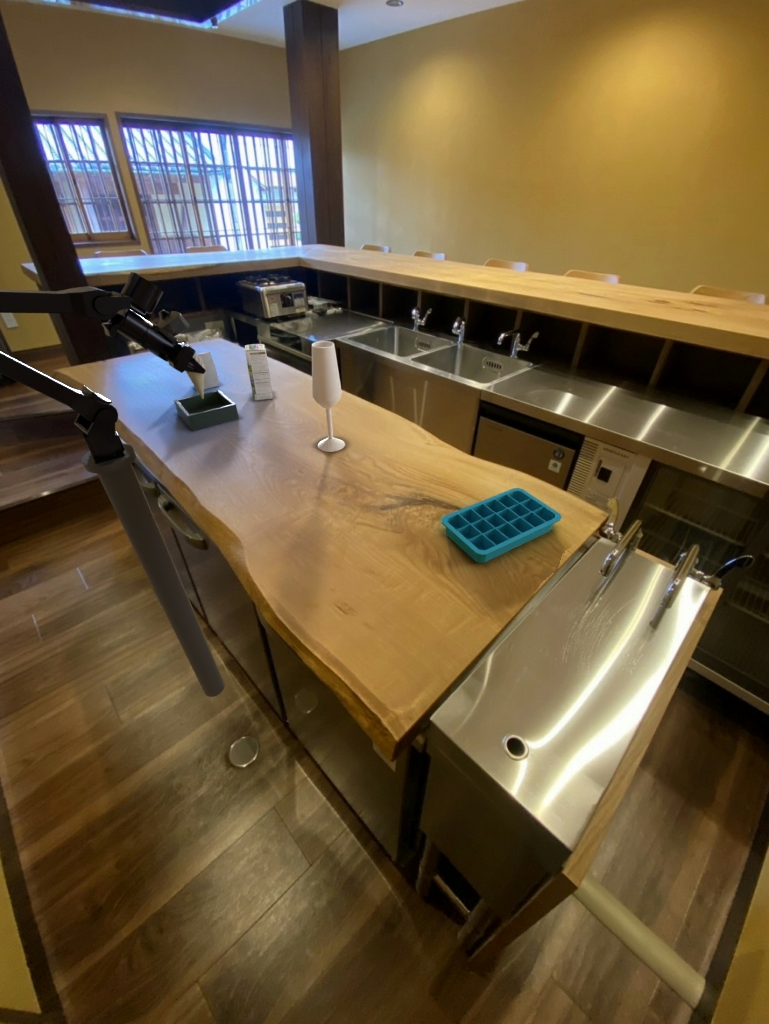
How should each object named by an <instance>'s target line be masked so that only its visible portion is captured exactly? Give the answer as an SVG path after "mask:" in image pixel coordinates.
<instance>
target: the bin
mask: <svg viewBox="0 0 769 1024" xmlns="http://www.w3.org/2000/svg"><path fill="white" fill-rule="evenodd" d="M173 402H174V405H175V409H176V412H177V415H178V416H179V417H180V418H181V419H182V421H183V422H184V423H185V424H186V426H187V427H188V428H189V429H190V430H191V431H192V432H193V431H194V432H195V431H197V430H201V429H205V428H208V427H213V426H216V425H219V424H223V423H226V422H231V421H235V420H238V419H240V418H239V412H238V408H237V404H236V403H235V402H234V401H233V400H232V399H230V397H228V395H226V394H225V393H224V392H222V391H221V389H216V390H212V391H208V392H204V399H202V398H201V397H200V395H199V394H195V395H191V396H186V397H182V398H178V399H174V400H173Z"/></svg>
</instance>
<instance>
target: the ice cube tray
mask: <svg viewBox="0 0 769 1024" xmlns="http://www.w3.org/2000/svg"><path fill="white" fill-rule="evenodd" d="M562 518H563V516H562V514H561V513H560V512H558V511H557V510H555V509H553V508H552V507H550V506H549V505H548V504H546V503H545V502H543V501H542V500H541V499H538V498H537V497H536V496H534V495H533V494H531V493H530V492H528V491H526V490H525V489H523V488H521V487H514V488H513V487H512V488H511V489H508V490H506V491H503V492H501V493H498V494H496V495H493V496H491V497H487V498H485V499H483V500H481V501H478V502H475V503H473V504H471V505H468V506H466V507H463V508H461V509H457V510H456V511H453V512H451V513H448V514H445V515H443V516H442V517H441V518H440V522H441V523H440V524H441V525H443V527H445V535H446V536H447V537H448V538H449V539H450V540H452V542H454V543H455V544H456V545H457V546H458V547H459V548H460V549H461V550H462V551H464V552H465V553H466V554H467V555H468V556H469V557H470V558H471V559H472V560H473V561H474V562H476V563H479V564H483V563H487V562H489V561H491V560H492V559H495V558H497V557H499V556H501V555H503V554H505V553H507V552H510V551H512V550H513V549H515V548H518V547H520V546H522V545H523V544H526V543H528V542H530V541H532V540H534V539H536V538H539V537H540V536H543V535H545V534H547V533H549V532H550V531H552V528H553V526H554V524H557V523H559V522H560V521H561V520H562Z"/></svg>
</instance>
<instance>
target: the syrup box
mask: <svg viewBox="0 0 769 1024" xmlns="http://www.w3.org/2000/svg"><path fill="white" fill-rule="evenodd" d="M244 350H245V351H244V352H245V358H246V359H245V360H246V365H247V371H248V376H249V382H250V388H251V392H252V398H253V401H265V400H270V399H274V393H273V387H272V382H271V374H270V373H271V372H270V368H269V360H268V354H267V348H266V345H265V344H264V343H252V344H246V345H244Z"/></svg>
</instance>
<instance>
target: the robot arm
mask: <svg viewBox="0 0 769 1024" xmlns="http://www.w3.org/2000/svg"><path fill="white" fill-rule="evenodd" d="M163 294H164V291H163V290H162V288H160V287H159V286H158V285H157V284H155V283H154V282H151V281H149V280H148V279H146V278H145V277H143V276H141V275H140V274H138V273H136V272H134V271H130V273H129V275H128V277H127V280H126V283H125V284H124V286H123V288H122V290H121V292H120V293H119V292H117V291H113V290H112V291H106V290H103V289H100V288H97V287H94V286H90V285H87V286H86V285H85V286H79V287H77V286H76V287H71V288H67V289H63V290H62V289H61V290H54V291H53V290H31V289H30V290H29V289H1V288H0V314H67V315H73V316H78V317H82V318H87V319H95V320H101V321H107V322H102V323H101V326H102V327H103V330H104V334H105V336H107V337H110V338H114V337H115V336H116V334H117V333H119V334H121V335H122V336H124V337H125V338H127V339H128V340H130V341H132V342H134V343H135V344H137V345H138V346H140V347H142V348H143V349H145V350H146V351H148V352H150V353H151V354H153V355H154V356H156V357H157V358H159V359H161V360H163V361H165V362H167V363H168V365H169V366H170V367H171V368H173V369H174V370H176V371H177V372H179V373H181V374H182V373H185V372H186V371H189V372H195V373H201V374H204V373H205V371H206V370H205V369H204V368H203V367H202V366H201V365H200V364H199V363H198V362H197V361H196V360H195V359H194V358H193V356H194V354H195V351H196V350H195V349H194V348H193V347H192V346H191V347H192V348H191V347H190V346H188V345H186V344H187V343H185V342H184V341H183V342H179V340H178V338H177V337H176V336H178V335H179V334H180V333H182V332H183V331H185V330H187V329H189V328H190V324H189V323H188V321H187V319H185V318H184V316H183V314H181V312H178V311H176V310H173V311H172V310H171V311H170V312H169V311H167V310H165V309H162V310H160V311H158V317H159V319H158V322H157V323H154V322H152V321H149V320H147V319H145V318H144V317H143V316H145V315H146V314H149V315H150V314H153V312H154V311H155V309H156V307H157V305H158V303H159V301H160V299H161V298H162V296H163ZM130 308H132V309H133V310H132V309H130ZM135 311H136V312H138V313H139V314H138V313H136V312H135ZM140 314H141V315H143V316H141V315H140ZM0 374H1V375H3V376H5V377H7V378H9V379H11V380H13V381H15V382H17V383H20V384H22V385H23V386H26V387H28V388H30V389H32V390H34V391H36V392H38V393H39V394H40V393H41V394H42V395H44V396H47V397H48V398H51V399H52V400H55V401H57V402H59V403H60V404H63V405H65V406H67V407H69V408H70V409H71V410H73V411H74V412H76V413H77V416H76V418H75V420H74V422H73V423H74V425H75V426H76V427H77V428H78V429H79V430H81V431H82V432H81V435H82V439H83V440H84V442H85V444H86V447H87V449H88V451H90V452H91V455H92V458H93V460H94V462H95V464H97V463H101V462H105V461H108V460H112V459H116V458H119V457H123V456H125V454H124V452H123V451H124V450H125V449H124V446H123V444H122V443H123V442H122V439H121V437H120V435H119V432H118V431H116V423H117V422H118V419H119V412H118V409H117V408H116V407H115V406H114V405H112V402H113V401H111V400H110V399H108V398H107V397H105V396H104V395H102V394H100V393H96V392H94V391H92V390H91V389H90V388H88V387H87V386H85V385H83V386H82V388H81V390H80V389H76V388H72V387H70V386H68V385H66V384H64V383H62V382H61V381H59V380H57V379H54V378H52V377H51V376H49V375H47V374H45V373H43V372H41V371H38V370H37V369H35V368H33V367H31V366H30V365H28V364H25V363H24V362H22V361H19V360H18V359H16V358H14V357H12V356H10V355H9V354H6V353H4V352H2V351H0Z"/></svg>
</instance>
